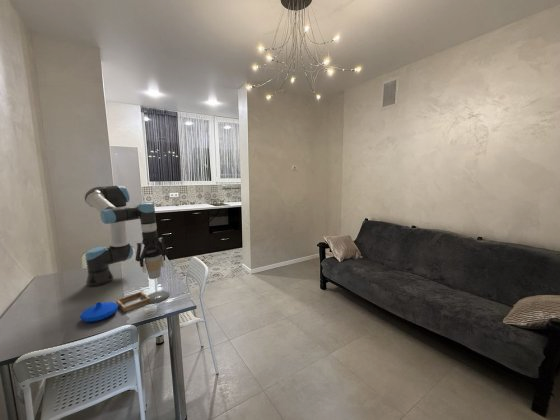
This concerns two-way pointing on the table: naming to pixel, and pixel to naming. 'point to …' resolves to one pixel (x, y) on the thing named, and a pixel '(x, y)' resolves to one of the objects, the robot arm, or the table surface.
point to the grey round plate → (158, 296)
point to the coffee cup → (153, 263)
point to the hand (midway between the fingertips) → (153, 269)
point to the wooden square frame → (135, 305)
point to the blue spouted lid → (99, 311)
